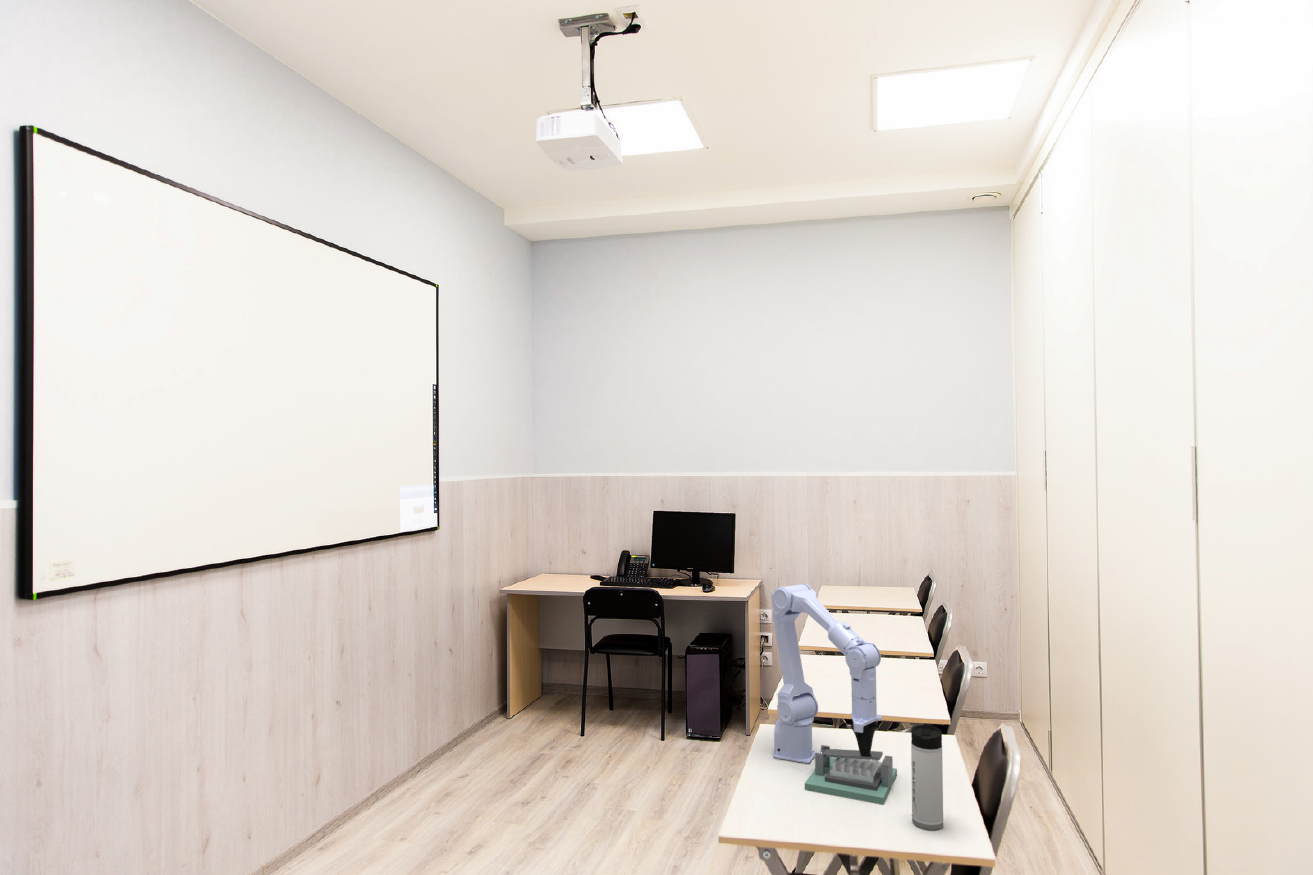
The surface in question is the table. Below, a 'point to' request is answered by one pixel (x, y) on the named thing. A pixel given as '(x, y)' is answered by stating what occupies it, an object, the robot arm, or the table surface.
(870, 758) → the flat metal bar
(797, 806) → the table surface
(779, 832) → the table surface
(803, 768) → the table surface
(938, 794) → the travel mug
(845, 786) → the circuit board
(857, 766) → the heat sink
